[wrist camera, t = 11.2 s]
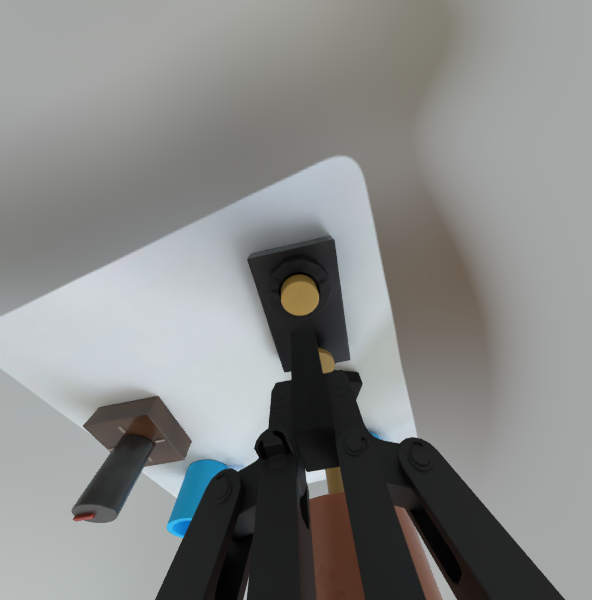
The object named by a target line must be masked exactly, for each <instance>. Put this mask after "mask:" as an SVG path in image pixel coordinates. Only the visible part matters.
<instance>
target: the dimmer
mask: <svg viewBox="0 0 592 600" xmlns="http://www.w3.org/2000/svg"><path fill="white" fill-rule="evenodd" d="M153 448H154V446H153V443H152V442H151V441H150V440H148V439H147V438H145V437H142V436H138V435H127V436H124V437H122V438H121V439H120V440H119V442H118V443H117V444H116V446H115V447H114V449H113V450H112V452H111V453H110V455H109V456H108V457H107V459H106V460H105V462H104V463H103V465H102V466H101V468H100V469H99V471H98V472H97V473H96V475H95V476H94V478H93V479H92V481H91V482H90V484H89V485H88V486H87V488H86V489H85V491H84V492H83V494H82V495H81V497H80V498H79V499H78V501H77V503H76V504H75V505H74V507H73V508H72V513H73V515H74V516H75V517H74V519H73V520H74V521H81V520H85V521H88V522H95V523H106V522H111V521H113V520H115V519H116V518H117V516H118V515H119V513H120V511H121V509H122V507H123V505H124V503H125V501H126V499H127V498H128V496H129V494H130V492H131V490H132V488H133V486H134V484H135V482H136V481H137V479H138V477H139V475H140V473H141V471H142V469H143V468H144V466H145V464H146V462H147V460H148V458H149V456H150V454H151V452H152V451H153Z"/></svg>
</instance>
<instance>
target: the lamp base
mask: <svg viewBox="0 0 592 600" xmlns="http://www.w3.org/2000/svg"><path fill="white" fill-rule="evenodd" d="M247 260H248V263H249V266H250V269H251V272H252V275H253V278H254V281H255V284H256V287H257V291H258V294H259V297H260V300H261V303H262V306H263V309H264V312H265V315H266V318H267V321H268V324H269V327H270V330H271V333H272V336H273V339H274V342H275V345H276V348H277V352H278V355H279V358H280V361H281V364H282V367H283V370H284V372H290V371H291V331H295V330H300V329H305V328H310V327H313V328H314V332H315V337H316V341H317V346H318V348H322V349H325V350H327V351H329V352H330V353H331V354H332V356H333V359H334V362H335V363H337V362H343V361H348V360H350V353H349V346H348V338H347V331H346V324H345V316H344V309H343V301H342V294H341V286H340V279H339V271H338V264H337V256H336V249H335V241H334V239H333V238H332V237H331V236H327V237H323V238H319V239H314V240H310V241H306V242H301V243H297V244H293V245H288V246H284V247H279V248H275V249H271V250H266V251H262V252H258V253H253V254H251V255H250V256H249V258H248V259H247ZM297 274H303V275H306V276H308V277H310V278H311V279H312V280H313V281H314V282H315V284H316V287H317V290H318V294H319V302H318V305H317V306H316V308H315V309H314V310H313V311H312V312H310V313H308V314H306V315H293V314H291V313H289V312H288V311H286V310H285V309H284V307H283V305H282V303H281V290H282V285H283V283H284V282H285V280H286V279H287V278H289V277H290V276H293V275H297Z"/></svg>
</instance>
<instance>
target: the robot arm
mask: <svg viewBox="0 0 592 600" xmlns="http://www.w3.org/2000/svg"><path fill="white" fill-rule="evenodd" d="M291 376H292V380H289V381H284V382H278V383H276V384H275V386H274V388H273V390H272V393H271V405H270V417H269V428H268V429H267V430H266V431H264V432H263V433H262V434H261V435H260V436H259V438H258V439H257V441H256V444H255V447H254V449H255V451H256V453H257V454H258V456H259V458H258V460H257V461H255V462H254V463H252V464H251V465H249V466H247V467H245V468H244V469H242V470H240V471H238V472H237V471H236V470H234V469H231V468H229V469H224V470H222V471H220V472H218V473H217V474H216V475H215V476H214V477H213V478H212V479H211V481H210V482H209V484H208V486H207V487H206V489H205V491H204V494H203V496H202V498H201V500H200V502H199V505H198V507H197V509H196V511H195V513H194V516H193V518H192V520H191V522H190V524H189V527H188V529H187V531H186V533H185V535H184V538H183V540H182V542H181V544H180V546H179V549H178V551H177V553H176V555H175V557H174V560H173V562H172V564H171V566H170V568H169V570H168V573H167V575H166V577H165V579H164V581H163V584H162V586H161V588H160V590H159V592H158V595H157V597H156V599H155V600H243V598H244V594H245V590H246V586H247V582H248V577H249V583H248V592H247V600H317V598H316V584H315V571H314V557H313V543H312V530H311V516H310V502H309V490H308V486H307V482H306V473H305V468H306V471H307V472H310V471H316V470H323V469H329V468H335V467H340V471H341V476H342V482H343V487H344V492H345V497H346V502H347V508H348V513H349V518H350V523H351V529H352V534H353V539H354V544H355V550H356V555H357V560H358V565H359V571H360V576H361V581H362V586H363V592H364V597H365V600H426V597H425V595H424V592H423V589H422V586H421V583H420V580H419V577H418V574H417V571H416V568H415V565H414V563H413V560H412V557H411V554H410V551H409V548H408V545H407V542H406V539H405V536H404V533H403V531H402V528H401V525H400V522H399V519H398V516H397V513H396V510H395V507H394V506H398V507H401V508H405V510H406V512H407V513H408V515H409V517H410V519H411V520H412V522H413V524H414V526H415V527H416V529H417V531H418V532H419V534H420V536H421V538H422V539H423V541H424V543H425V545H426V546H427V548H428V550H429V552H430V553H431V555H432V557H433V558H434V560H435V562H436V564H437V566H438V567H439V569H440V571H441V572H442V574H443V576H444V578H445V579H446V581H447V583H448V584H449V586H450V588H451V590H452V591H453V593H454V595H455V597H456V598H457V600H565V599H564V598H563V597H562V596H561V594H560V593H559V592H558V591H557V590H556V589H555V587H554V586H553V585H552V584H551V583H550V582H549V580H548V579H547V578H546V577H545V576H544V574H543V573H542V572H541V571H540V570H539V569H538V568H537V566H536V565H535V564H534V563H533V562H532V560H531V559H530V558H529V557H528V556H527V555H526V553H525V552H524V551H523V550H522V549H521V548H520V547H519V545H518V544H517V543H516V542H515V541H514V539H513V538H512V537H511V536H510V535H509V534H508V532H507V531H506V530H505V529H504V528H503V527H502V525H501V524H500V523H499V522H498V521H497V520H496V519H495V517H494V516H493V515H492V514H491V513H490V512H489V510H488V509H487V508H486V507H485V505H484V504H483V503H482V502H481V501H480V500H479V498H478V497H477V496H476V495H475V494H474V493H473V492H472V490H471V489H470V488H469V487H468V486H467V484H466V483H465V482H464V481H463V480H462V479H461V477H460V476H459V475H458V474H457V473H456V472H455V471H454V469H453V468H452V467H451V466H450V465H449V464H448V462H447V461H446V460H445V459H444V458H443V456H442V455H441V454H440V453H439V452H438V451H437V450H436V449H435V448H434V447H433V446H432V445H431V444H430V443H428V442H426V441H424V440H422V439H419V438H413V437H412V438H407V439H405V440H403V441H402V442H401V443H400V444H398V443H393V442H387V441H383V440H380V439H378V438H376V437H374V436H373V435H372V434H371V433H370V432H369V431H368V430H367V429H366V427H365V425H364V423H363V420H362V417H361V414H360V411H359V408H358V405H357V402H356V399H355V396H354V393H353V390H352V387H351V384H350V381H349V378H348V376H347V375H346V374H345V373H344V372H343V371H342V370H339V371H333V372H328V373H323V370H322V365H321V360H320V355H319V351H318V346H317V341H316V337H315V332H314V328H313V327H310V328H305V329H300V330H295V331H291Z"/></svg>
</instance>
